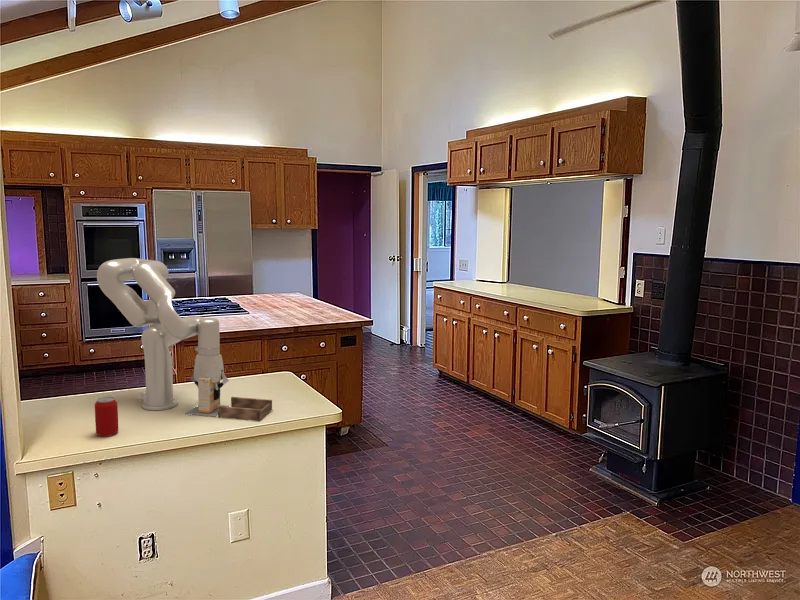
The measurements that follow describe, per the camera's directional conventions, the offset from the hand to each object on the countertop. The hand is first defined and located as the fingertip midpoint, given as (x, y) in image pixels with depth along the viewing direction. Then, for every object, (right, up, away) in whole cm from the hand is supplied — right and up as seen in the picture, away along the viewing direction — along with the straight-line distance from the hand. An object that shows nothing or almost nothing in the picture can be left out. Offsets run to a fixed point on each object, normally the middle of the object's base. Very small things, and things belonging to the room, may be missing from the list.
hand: (209, 398), depth 219 cm
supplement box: (0, -5, +1) cm, 5 cm away
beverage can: (-26, -8, -24) cm, 37 cm away
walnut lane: (+14, -6, -1) cm, 15 cm away
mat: (-1, -5, +1) cm, 5 cm away
